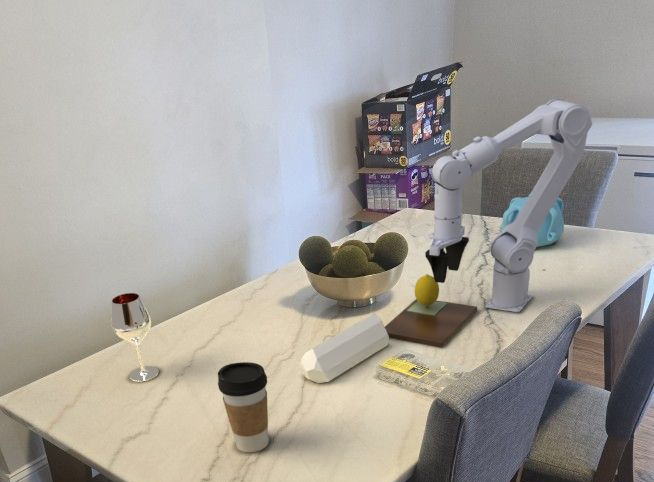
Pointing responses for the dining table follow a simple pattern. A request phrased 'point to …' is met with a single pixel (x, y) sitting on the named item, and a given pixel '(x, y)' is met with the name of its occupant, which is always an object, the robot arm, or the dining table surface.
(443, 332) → the board
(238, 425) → the coffee cup
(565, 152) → the robot arm
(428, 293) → the lemon
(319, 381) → the crystal
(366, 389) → the dining table surface
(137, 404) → the dining table surface
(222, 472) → the dining table surface
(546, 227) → the decorative pot
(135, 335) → the wineglass
